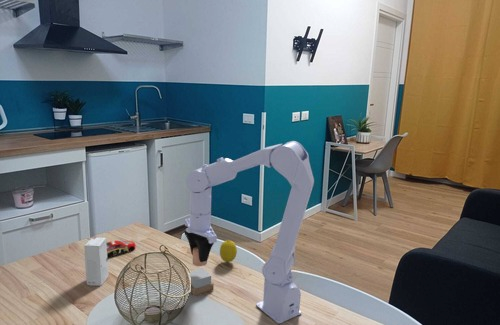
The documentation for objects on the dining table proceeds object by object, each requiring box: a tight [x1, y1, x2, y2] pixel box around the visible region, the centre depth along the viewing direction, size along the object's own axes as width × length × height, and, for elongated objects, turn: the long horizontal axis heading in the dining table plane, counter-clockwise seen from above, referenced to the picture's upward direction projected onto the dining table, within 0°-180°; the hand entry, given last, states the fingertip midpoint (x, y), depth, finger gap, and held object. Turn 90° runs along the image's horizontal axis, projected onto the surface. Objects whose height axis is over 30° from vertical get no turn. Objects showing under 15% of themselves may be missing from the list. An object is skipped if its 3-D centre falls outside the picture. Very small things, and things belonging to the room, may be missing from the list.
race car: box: [106, 240, 136, 259], centre depth 124 cm, size 13×5×4 cm, turn 132°
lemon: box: [219, 239, 238, 264], centre depth 120 cm, size 6×6×8 cm
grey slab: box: [189, 268, 212, 289], centre depth 104 cm, size 5×5×2 cm
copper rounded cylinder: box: [192, 247, 208, 267], centre depth 103 cm, size 4×4×4 cm
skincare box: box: [83, 237, 109, 287], centre depth 105 cm, size 6×4×12 cm
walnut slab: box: [190, 281, 215, 297], centre depth 104 cm, size 6×6×2 cm
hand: (199, 257), depth 103 cm, fingers closed on copper rounded cylinder, 4 cm apart
